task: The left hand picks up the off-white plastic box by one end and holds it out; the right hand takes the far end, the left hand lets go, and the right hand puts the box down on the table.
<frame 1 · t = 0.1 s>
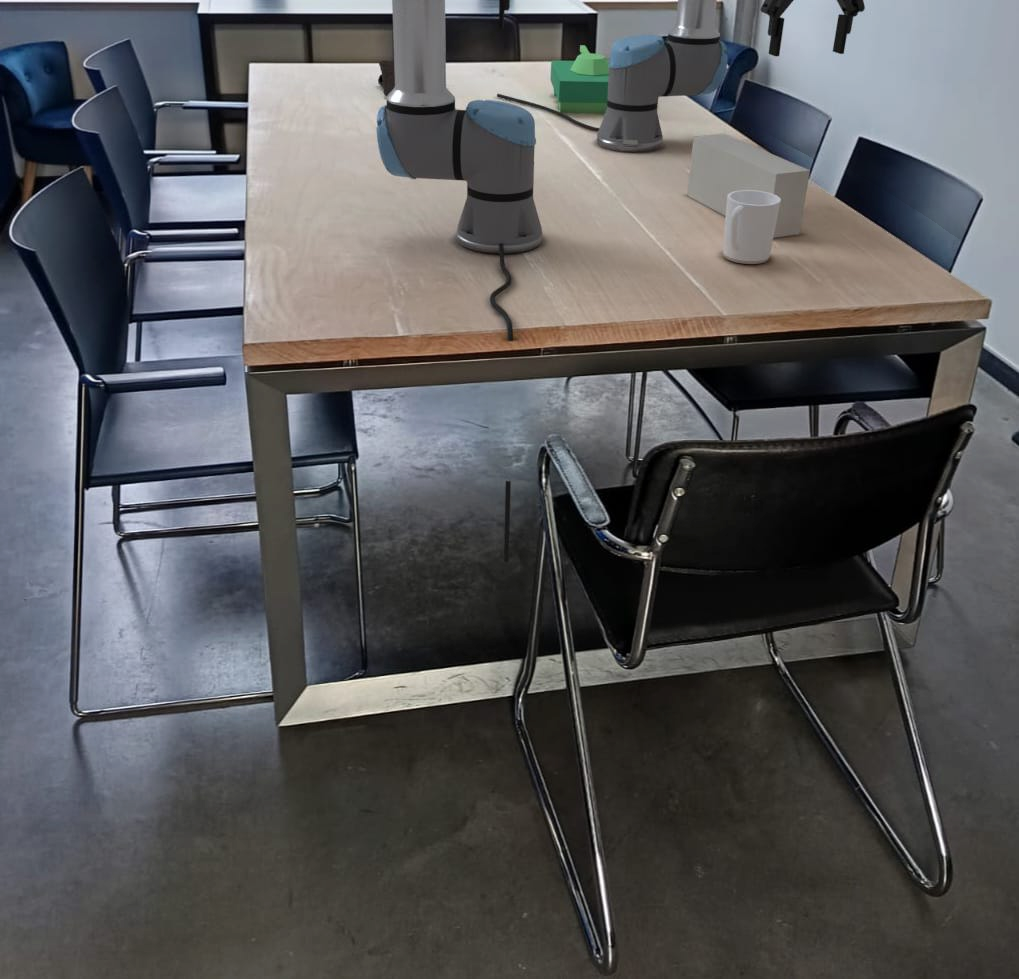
left hand: (468, 26, 224), 28 cm above the table, tool pointing down, fingers open, 13 cm apart
right hand: (806, 54, 205), 28 cm above the table, tool pointing down, fingers open, 13 cm apart
axe head: (403, 91, 300), on the table
mug: (742, 258, 190), on the table
box: (740, 214, 212), on the table
toy tank: (585, 102, 293), on the table
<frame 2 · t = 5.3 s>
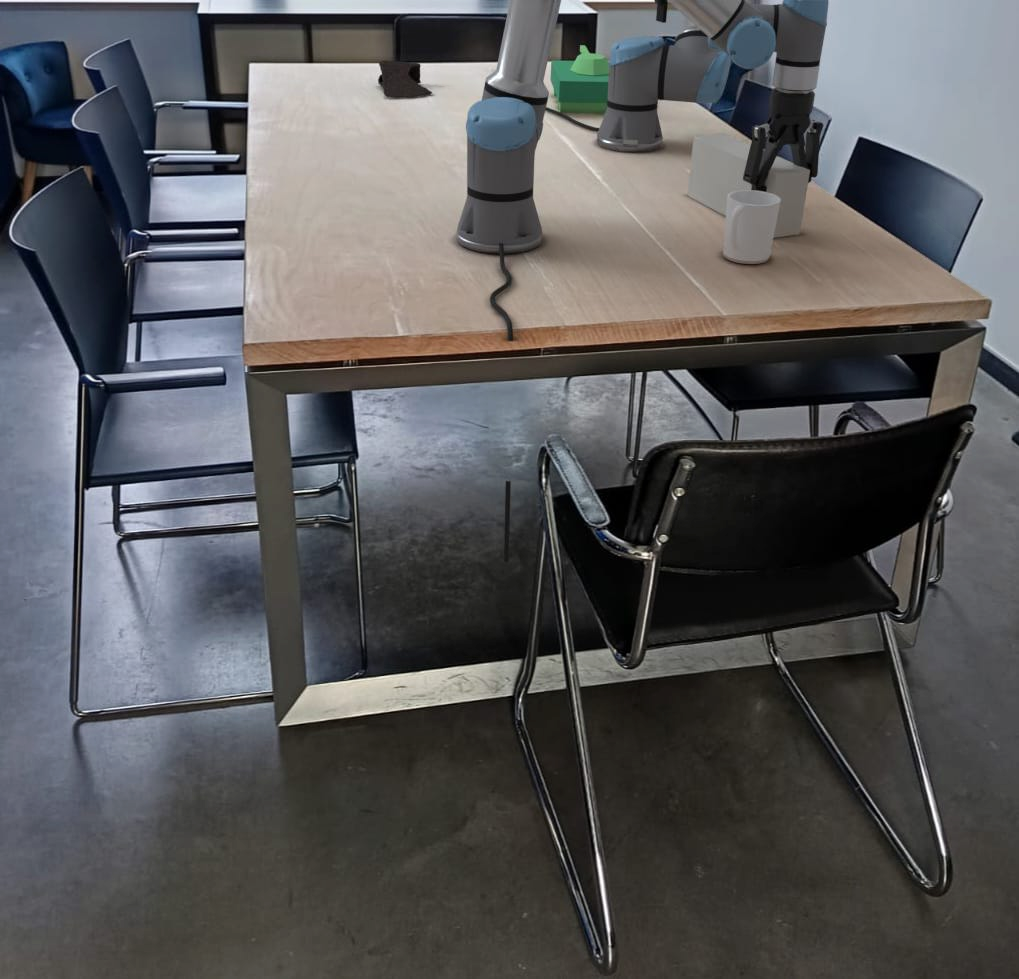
left hand: (774, 218, 202), 2 cm above the table, tool pointing down, fingers closed on box, 7 cm apart
right hand: (690, 20, 219), 31 cm above the table, tool pointing down, fingers open, 13 cm apart
box: (740, 214, 212), on the table, touching left hand
everything else where it was.
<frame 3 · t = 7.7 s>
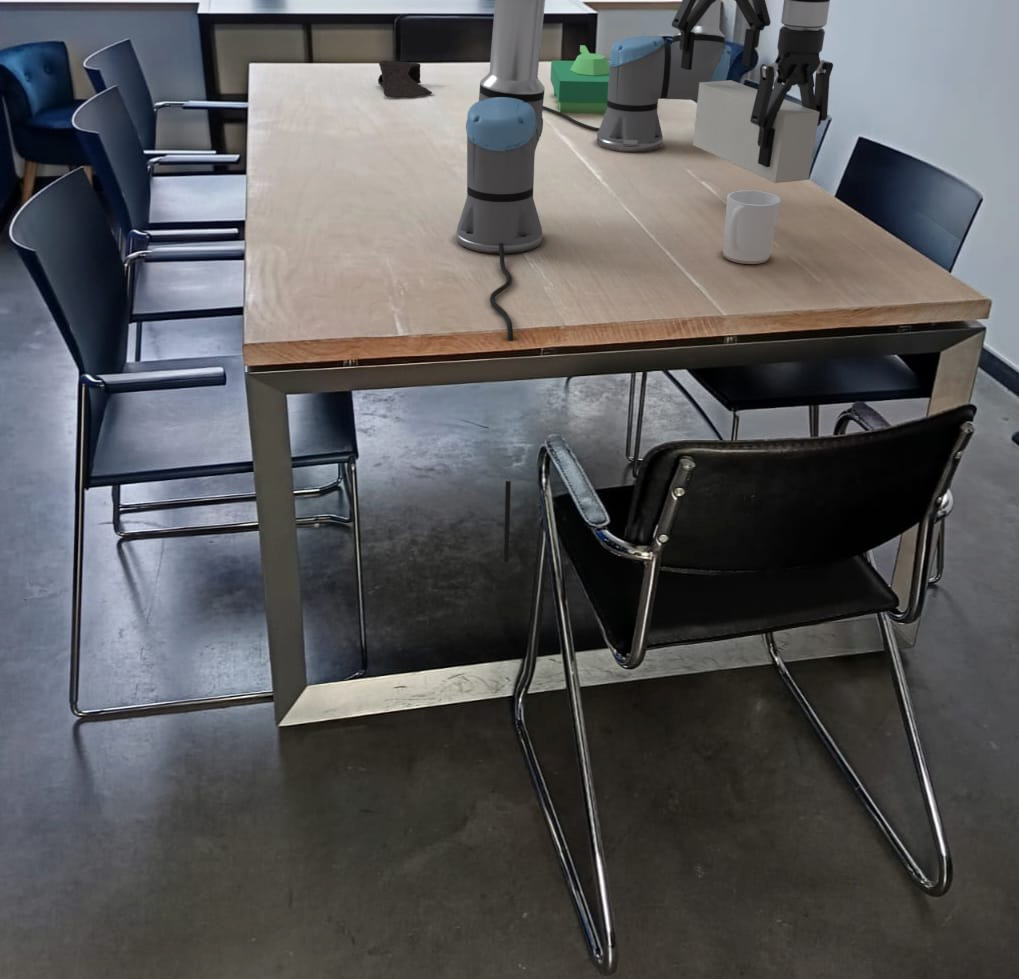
left hand: (782, 162, 197), 13 cm above the table, tool pointing down, fingers closed on box, 7 cm apart
right hand: (716, 67, 210), 24 cm above the table, tool pointing down, fingers open, 13 cm apart
box: (747, 161, 207), point 10 cm above the table, touching left hand
everything else where it was.
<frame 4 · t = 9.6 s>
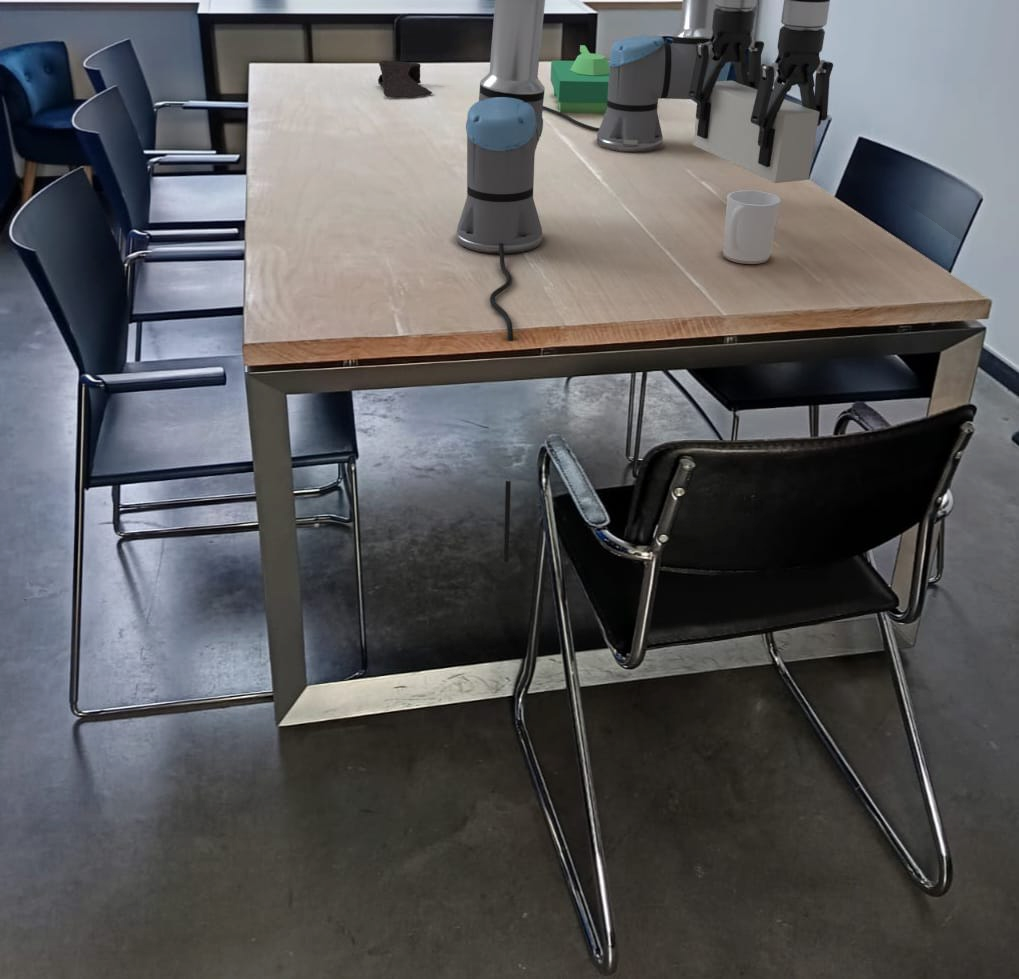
left hand: (782, 162, 197), 13 cm above the table, tool pointing down, fingers closed on box, 7 cm apart
right hand: (719, 135, 214), 13 cm above the table, tool pointing down, fingers closed on box, 7 cm apart
box: (748, 161, 207), point 10 cm above the table, touching left hand, right hand
everything else where it was.
when the left hand's fingers open (13 cm above the table, at t = 10.5 s): box stays where it is, held by the right hand.
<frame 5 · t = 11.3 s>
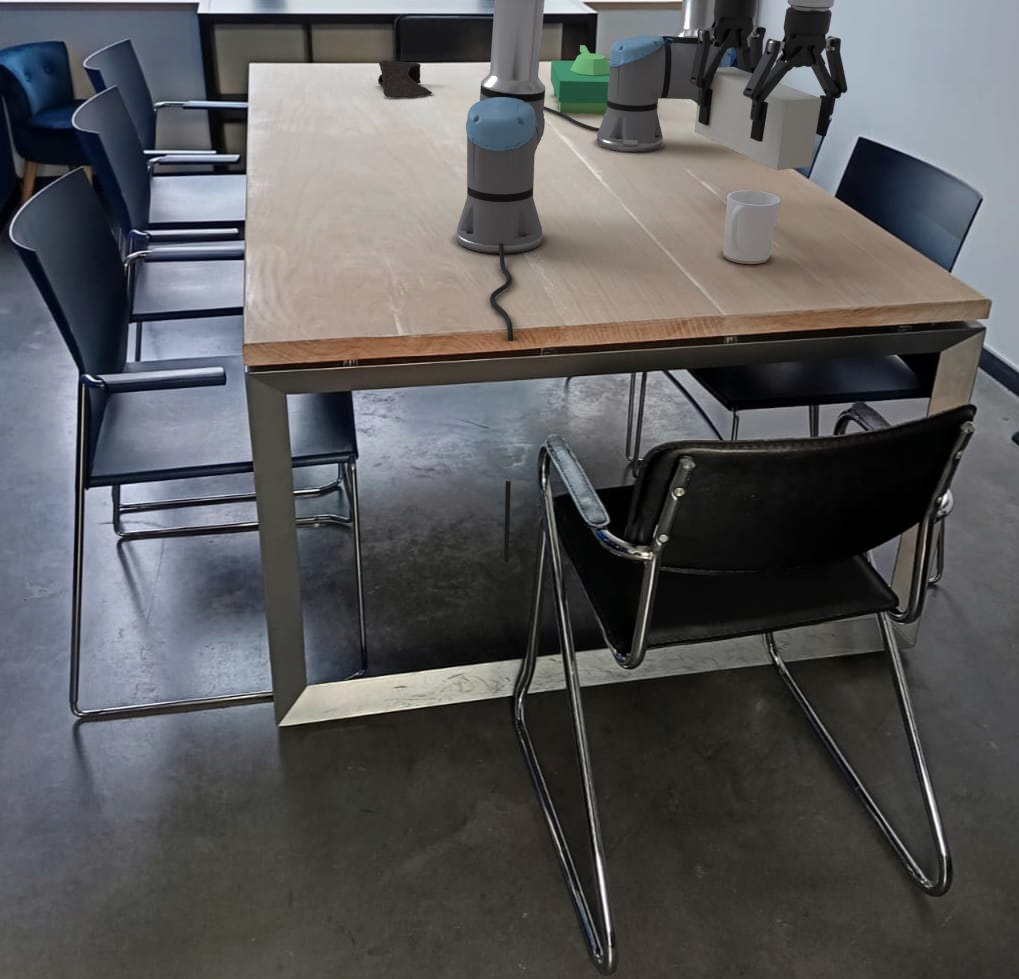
left hand: (788, 137, 194), 17 cm above the table, tool pointing down, fingers open, 13 cm apart
right hand: (721, 121, 212), 15 cm above the table, tool pointing down, fingers closed on box, 7 cm apart
box: (749, 148, 206), point 12 cm above the table, touching right hand
everything else where it was.
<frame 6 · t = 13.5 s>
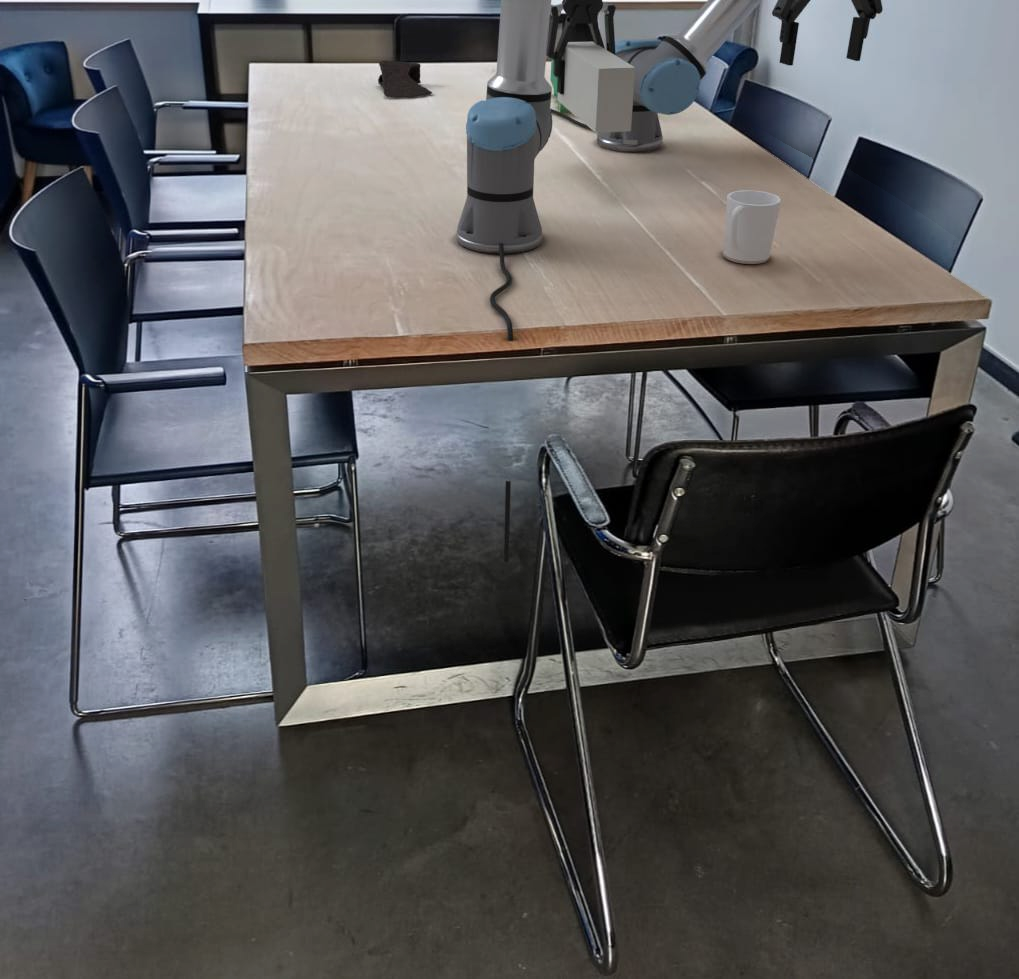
left hand: (819, 62, 183), 31 cm above the table, tool pointing down, fingers open, 13 cm apart
right hand: (578, 91, 232), 15 cm above the table, tool pointing down, fingers closed on box, 7 cm apart
box: (592, 115, 224), point 13 cm above the table, touching right hand
everything else where it was.
when the right hand's fingers open (4 cm above the table, at t = 17.5 s): box drops 2 cm, on the table.
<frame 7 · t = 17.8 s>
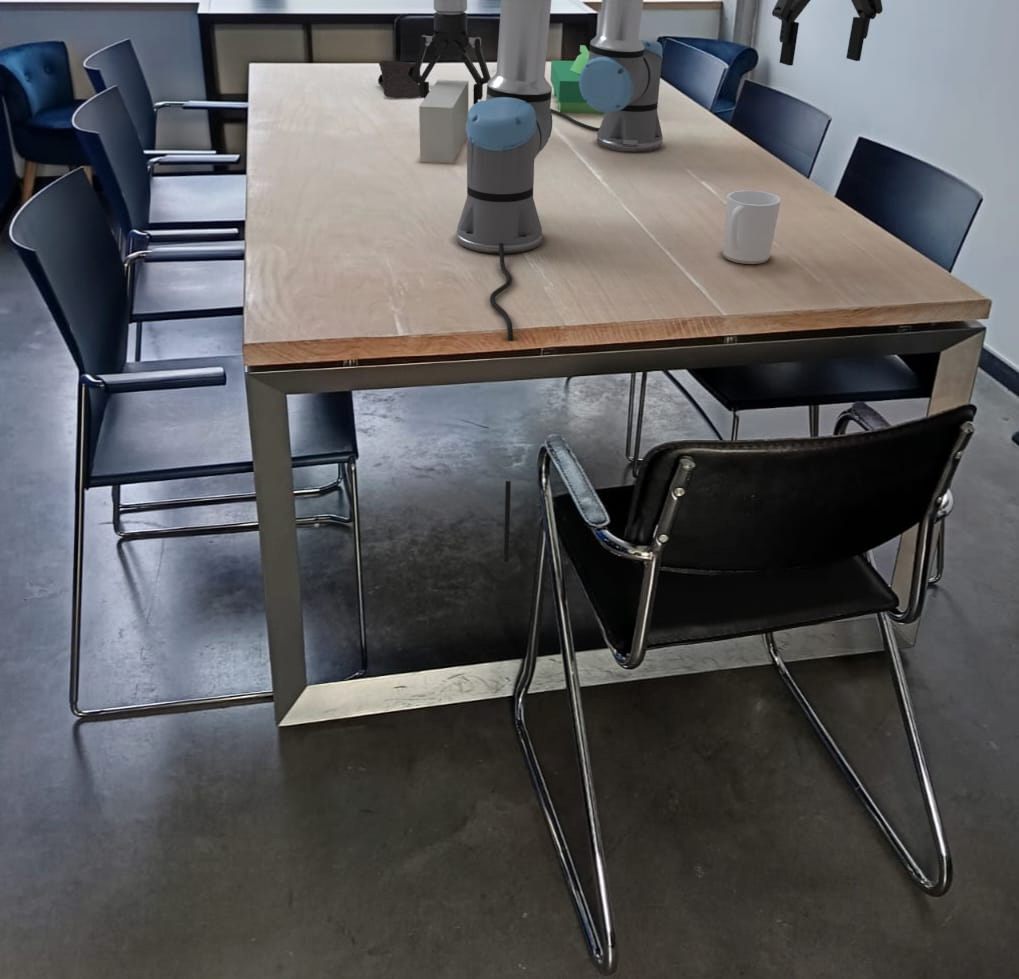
left hand: (819, 62, 183), 31 cm above the table, tool pointing down, fingers open, 13 cm apart
right hand: (451, 112, 257), 5 cm above the table, tool pointing down, fingers open, 11 cm apart
box: (445, 146, 251), on the table
everything else where it was.
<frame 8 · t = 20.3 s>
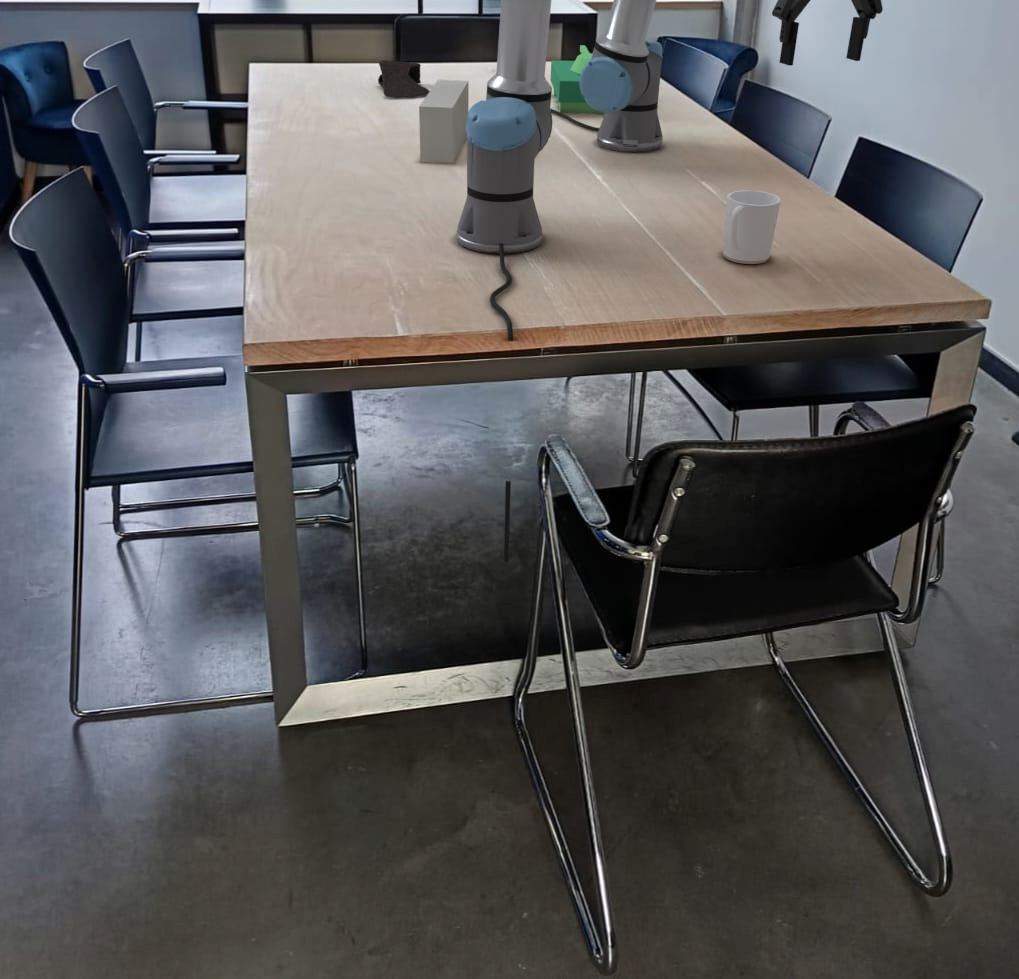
left hand: (819, 62, 183), 31 cm above the table, tool pointing down, fingers open, 13 cm apart
right hand: (450, 14, 246), 27 cm above the table, tool pointing down, fingers open, 13 cm apart
nothing on the table moved.
at the end: box inside the target area (10.5 cm from its centre), on the table; the left hand is holding nothing; the right hand is holding nothing; box at rest at the end (0.0 cm/s) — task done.
